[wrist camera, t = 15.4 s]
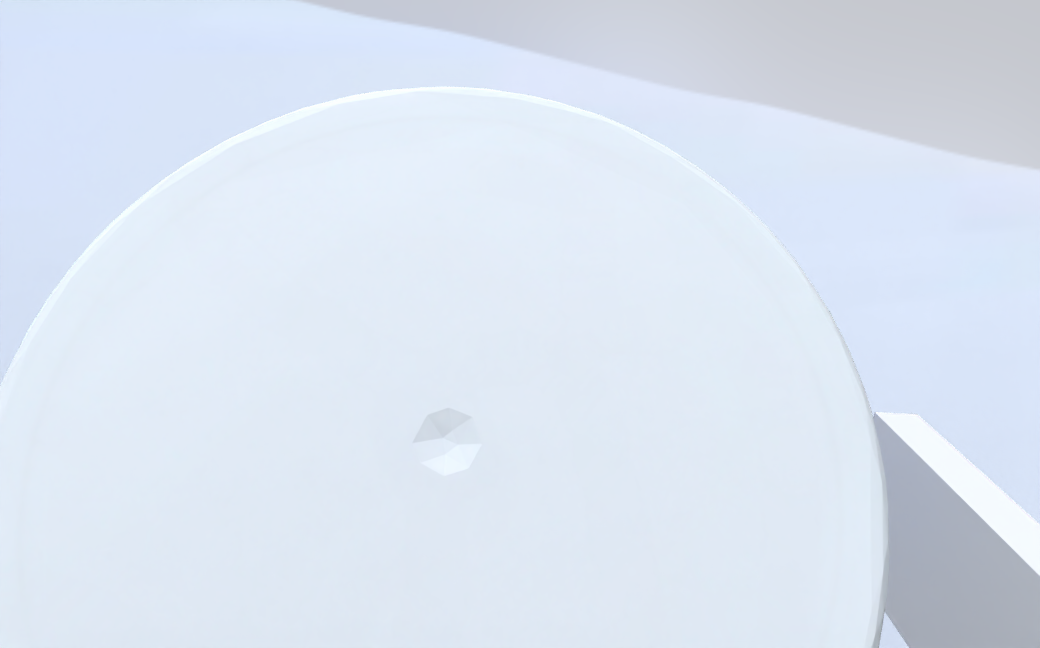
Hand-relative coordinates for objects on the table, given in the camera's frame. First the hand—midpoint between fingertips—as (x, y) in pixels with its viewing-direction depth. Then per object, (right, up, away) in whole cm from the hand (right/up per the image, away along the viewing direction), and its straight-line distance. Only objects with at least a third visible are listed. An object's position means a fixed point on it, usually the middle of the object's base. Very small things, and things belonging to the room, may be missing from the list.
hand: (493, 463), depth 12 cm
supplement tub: (-1, -4, +9) cm, 10 cm away
